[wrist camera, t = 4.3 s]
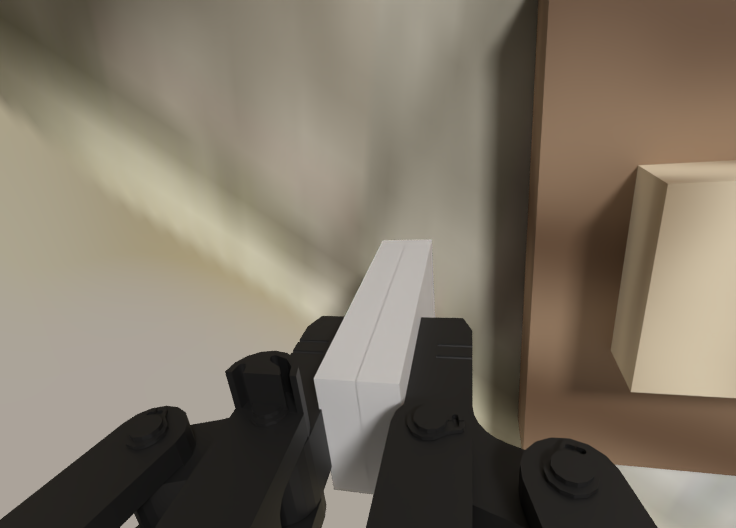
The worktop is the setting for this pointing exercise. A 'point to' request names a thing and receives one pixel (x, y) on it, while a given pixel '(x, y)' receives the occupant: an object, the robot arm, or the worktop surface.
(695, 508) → the worktop surface
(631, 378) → the birch tile
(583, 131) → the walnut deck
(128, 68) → the worktop surface
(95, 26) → the worktop surface
